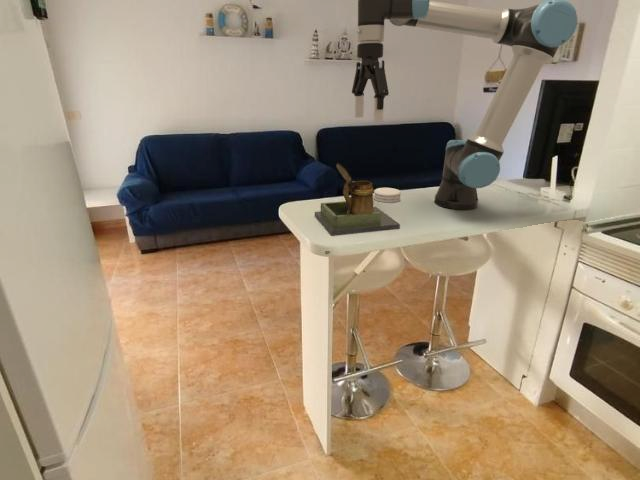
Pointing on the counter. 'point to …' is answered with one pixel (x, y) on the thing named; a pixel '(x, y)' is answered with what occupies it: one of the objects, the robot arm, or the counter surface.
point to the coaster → (387, 195)
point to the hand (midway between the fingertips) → (368, 119)
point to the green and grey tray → (352, 220)
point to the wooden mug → (357, 194)
